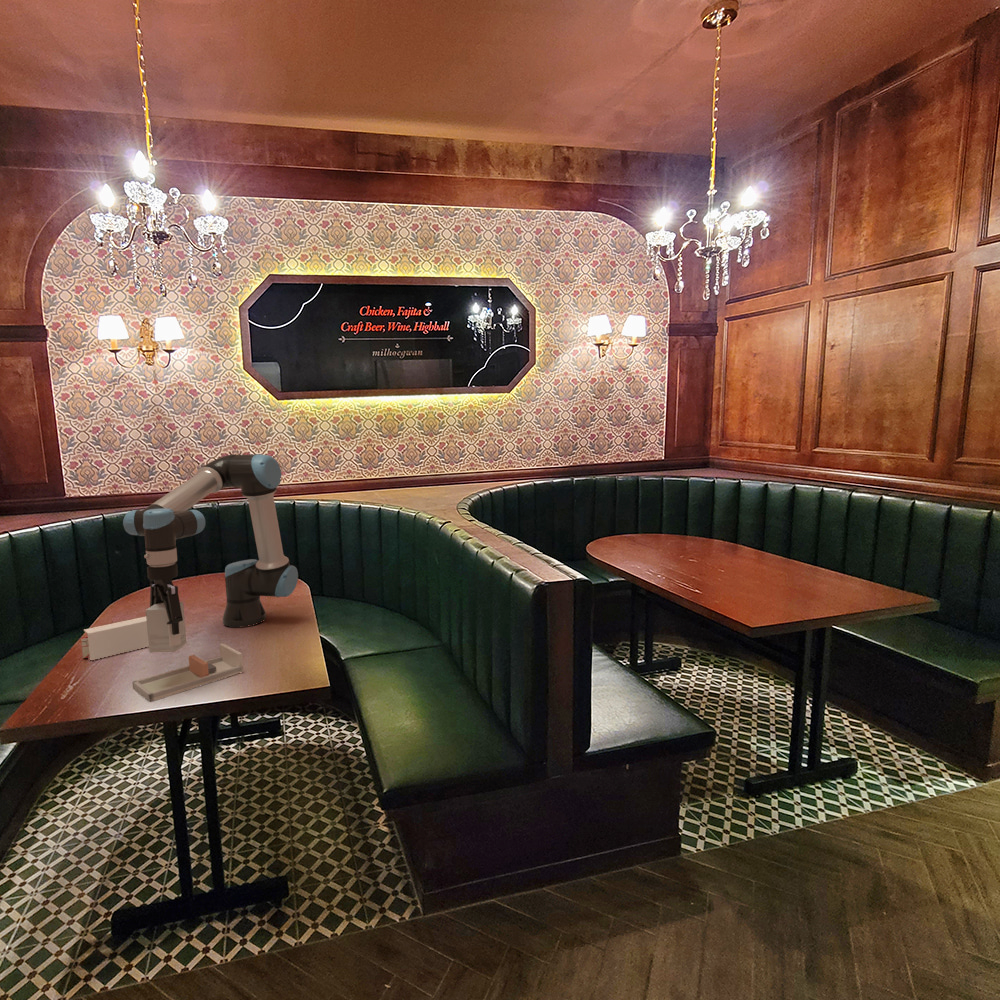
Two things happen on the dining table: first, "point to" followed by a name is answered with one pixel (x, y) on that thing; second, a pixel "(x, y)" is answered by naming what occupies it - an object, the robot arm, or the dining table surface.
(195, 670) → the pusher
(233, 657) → the beige shallow tray
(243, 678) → the dining table surface
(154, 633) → the supplement box
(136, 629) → the cigarette display
